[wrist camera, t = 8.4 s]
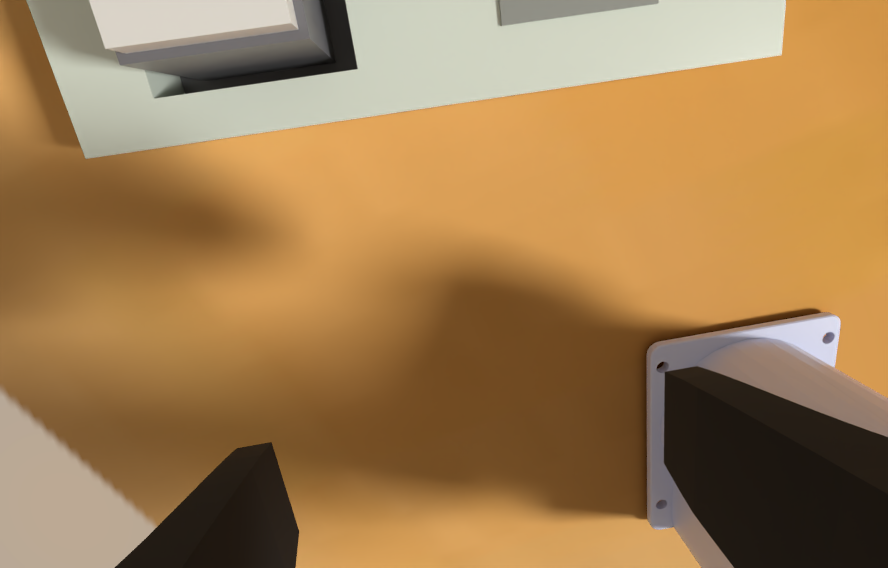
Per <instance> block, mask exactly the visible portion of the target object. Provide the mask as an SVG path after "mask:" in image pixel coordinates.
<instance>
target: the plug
mask: <svg viewBox="0 0 888 568" xmlns="http://www.w3.org/2000/svg"><path fill="white" fill-rule="evenodd" d="M89 2H90V5H91V8H92V11H93V14H94V17H95V20H96V23H97V26H98V29H99V32H100V35H101V38H102V41H103V43H104V46H105V49H108V50H113V51H115V52H116V55H117V58H118V61H119V64H120V65H121V66H126V67H132V68H137V69H143V70H148V71H154V72H159V73H165V74H170V75H176V76H181V77H187V78H192V79H198V80H203V81H212V80H219V79H226V78H233V77H240V76H247V75H254V74H261V73H268V72H275V71H282V70H289V69H296V68H303V67H310V66H317V65H324V64H331V63H336V61H335V55H334V50H333V45H332V40H331V35H330V30H329V25H328V20H327V15H326V9H325V4H324V0H89Z"/></svg>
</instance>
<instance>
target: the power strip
mask: <svg viewBox="0 0 888 568" xmlns="http://www.w3.org/2000/svg"><path fill="white" fill-rule="evenodd" d="M26 1H27V4H28V6H29V9H30V12H31V14H32V17H33V20H34V22H35V25H36V28H37V30H38V33H39V36H40V38H41V41H42V44H43V46H44V49H45V52H46V54H47V57H48V60H49V62H50V65H51V68H52V70H53V73H54V76H55V78H56V81H57V84H58V86H59V89H60V92H61V95H62V97H63V100H64V103H65V105H66V108H67V111H68V113H69V116H70V119H71V121H72V124H73V127H74V129H75V132H76V135H77V137H78V140H79V143H80V145H81V148H82V151H83V153H84V156H85V159H89V158H96V157H103V156H110V155H117V154H124V153H130V152H137V151H144V150H151V149H157V148H164V147H171V146H177V145H184V144H191V143H197V142H204V141H211V140H218V139H224V138H231V137H238V136H244V135H251V134H258V133H264V132H271V131H278V130H285V129H291V128H298V127H305V126H311V125H318V124H325V123H331V122H338V121H345V120H352V119H358V118H365V117H372V116H378V115H385V114H392V113H398V112H405V111H412V110H419V109H425V108H432V107H439V106H445V105H452V104H459V103H465V102H472V101H479V100H485V99H492V98H499V97H506V96H512V95H519V94H526V93H532V92H539V91H546V90H552V89H559V88H566V87H573V86H579V85H586V84H593V83H599V82H606V81H613V80H619V79H626V78H633V77H640V76H646V75H653V74H660V73H666V72H673V71H680V70H686V69H693V68H700V67H707V66H713V65H720V64H727V63H733V62H740V61H746V60H753V59H759V58H766V57H772V56H779V55H782V44H783V31H784V19H785V7H786V0H324V4H325V9H326V15H327V20H328V25H329V30H330V35H331V40H332V45H333V50H334V55H335V61H336V63H331V64H324V65H317V66H310V67H303V68H296V69H289V70H282V71H275V72H268V73H261V74H254V75H247V76H240V77H233V78H226V79H219V80H212V81H203V80H198V79H192V78H187V77H181V76H176V75H170V74H165V73H159V72H154V71H148V70H143V69H137V68H132V67H126V66H121V65H120V64H119V61H118V58H117V55H116V52H115V51H113V50H108V49H105V46H104V43H103V41H102V38H101V35H100V32H99V29H98V26H97V23H96V20H95V17H94V14H93V11H92V8H91V5H90V2H89V0H26Z"/></svg>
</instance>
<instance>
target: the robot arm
mask: <svg viewBox="0 0 888 568" xmlns="http://www.w3.org/2000/svg"><path fill="white" fill-rule="evenodd" d="M840 326H841V322H840V319H839V317H837V316H835V315H833V314H831V313H829V312H823V313H818V314H812V315H806V316H801V317H795V318H789V319H784V320H778V321H772V322H767V323H761V324H755V325H749V326H744V327H738V328H732V329H727V330H721V331H715V332H710V333H704V334H698V335H693V336H687V337H681V338H676V339H670V340H664V341H659V342H656V343H654V344H652V345H651V346H650V347H649V349H648V350H647V519H648V522H649V523H650V525H651V526H652V527H653V528H654V529H666V528H671V527H674V528H675V530H676V531H677V532H678V534H679V535H680V537H681V538H682V540H683V541H684V543H685V544H686V546H687V547H688V549H689V550H690V551H691V553H692V554H693V556H694V557H695V559H696V560H697V562H698V563H699V565H700V566H701V568H888V398H886V397H885V396H883V395H881V394H879V393H878V392H876V391H874V390H872V389H871V388H869V387H867V386H865V385H864V384H862V383H860V382H858V381H857V380H855V379H853V378H851V377H850V376H848V375H846V374H844V373H843V372H841V371H839V370H837V369H836V368H835V361H836V354H837V347H838V340H839V333H840ZM825 334H826V336H825V337H824V338H823V336H824V335H825ZM822 338H823V339H822ZM661 362H664V364H663V366H662V367H661V368H658V369H656V368H657V365H658V364H659V363H661ZM660 500H661V501H660ZM658 501H660V502H658ZM657 502H658V503H657ZM298 537H299V530H298V527H297V523H296V520H295V517H294V514H293V511H292V507H291V504H290V501H289V498H288V494H287V491H286V488H285V485H284V481H283V478H282V475H281V472H280V469H279V465H278V462H277V459H276V456H275V452H274V449H273V446H272V443H271V442H270V443H265V444H259V445H253V446H248V447H242V448H237V449H236V450H235V451H234V452H232V453H231V454H230V455H229V456H228V457H227V458H226V459H225V460H224V461H223V462H222V463H221V464H220V465H219V466H218V467H217V468H216V469H215V470H214V471H213V472H212V473H211V474H210V475H209V476H208V477H207V478H206V479H205V480H204V481H203V482H202V483H201V484H200V485H199V486H198V487H197V488H196V489H195V490H194V491H193V492H192V493H191V494H190V495H189V496H188V497H187V498H186V499H185V500H184V501H183V502H182V503H181V504H180V505H179V506H178V507H177V508H176V509H175V510H174V511H173V512H172V513H171V514H170V515H169V516H168V517H167V518H166V519H165V520H164V521H163V522H162V523H161V524H160V525H159V526H158V527H157V528H156V529H155V530H154V531H153V532H152V533H151V534H150V535H149V536H148V537H147V538H146V539H145V540H144V541H143V542H142V543H141V544H140V545H138V546H137V547H136V548H135V549H134V550H133V551H132V552H131V553H130V554H129V555H128V556H127V557H126V558H125V559H124V560H123V561H121V562H120V563H119V564H118V565H117V566H116V567H115V568H295V566H296V556H297V546H298Z"/></svg>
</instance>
